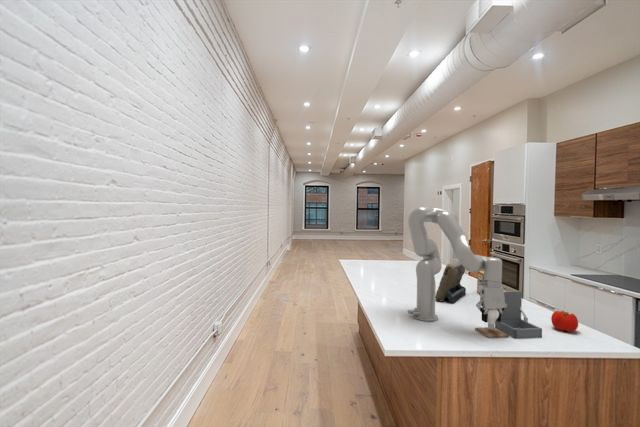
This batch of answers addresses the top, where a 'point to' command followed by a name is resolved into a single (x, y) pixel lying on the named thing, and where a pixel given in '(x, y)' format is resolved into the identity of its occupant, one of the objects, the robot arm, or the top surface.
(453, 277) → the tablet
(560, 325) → the tomato
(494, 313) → the lightbulb
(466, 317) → the top surface
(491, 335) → the walnut board
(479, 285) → the baking soda box
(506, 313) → the equipment case
